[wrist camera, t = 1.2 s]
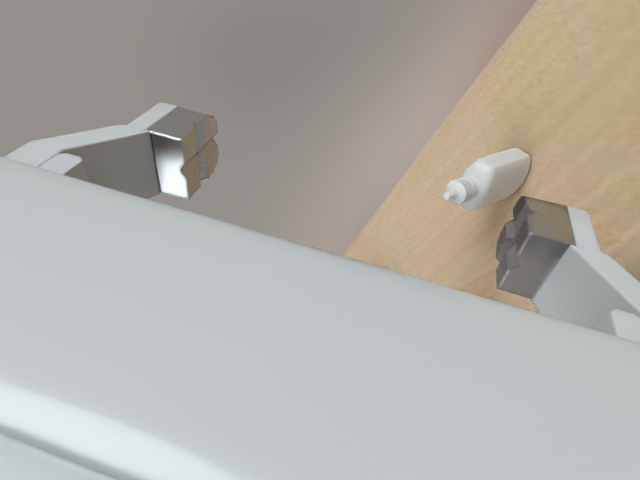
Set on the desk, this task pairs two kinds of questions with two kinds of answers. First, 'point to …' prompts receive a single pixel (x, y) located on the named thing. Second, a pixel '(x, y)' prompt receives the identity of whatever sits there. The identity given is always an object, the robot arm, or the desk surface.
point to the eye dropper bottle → (489, 179)
